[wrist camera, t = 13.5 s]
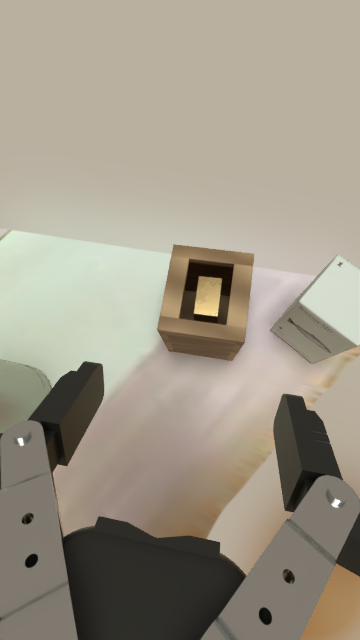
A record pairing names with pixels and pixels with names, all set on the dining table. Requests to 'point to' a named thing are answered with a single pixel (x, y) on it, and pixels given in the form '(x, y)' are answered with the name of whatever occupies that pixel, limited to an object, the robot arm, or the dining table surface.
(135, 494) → the dining table surface
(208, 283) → the gold rectangular block
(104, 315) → the dining table surface
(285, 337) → the supplement box
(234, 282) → the brown wooden bin
